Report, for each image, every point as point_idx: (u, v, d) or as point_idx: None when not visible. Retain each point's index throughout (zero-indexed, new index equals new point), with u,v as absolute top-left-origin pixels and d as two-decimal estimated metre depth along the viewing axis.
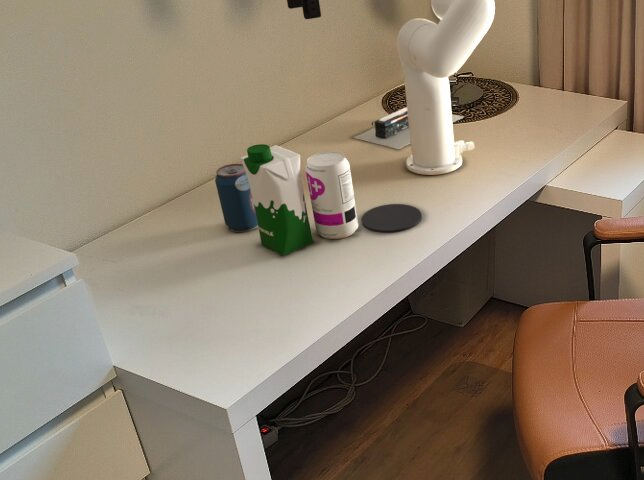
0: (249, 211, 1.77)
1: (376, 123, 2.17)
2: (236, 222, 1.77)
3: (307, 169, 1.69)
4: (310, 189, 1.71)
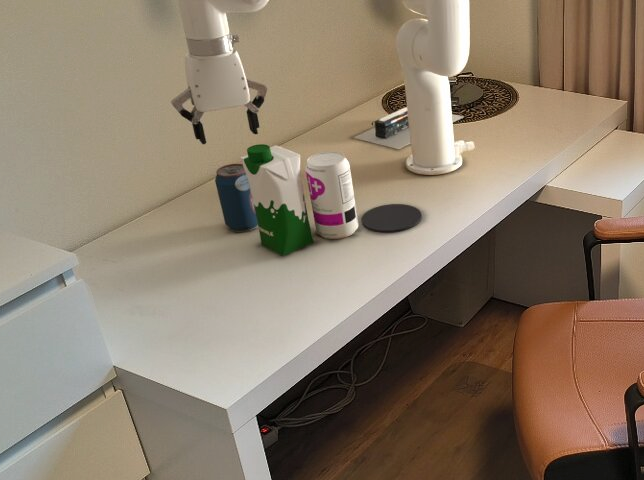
0: (249, 211, 1.77)
1: (376, 123, 2.17)
2: (236, 222, 1.77)
3: (307, 169, 1.69)
4: (310, 189, 1.71)
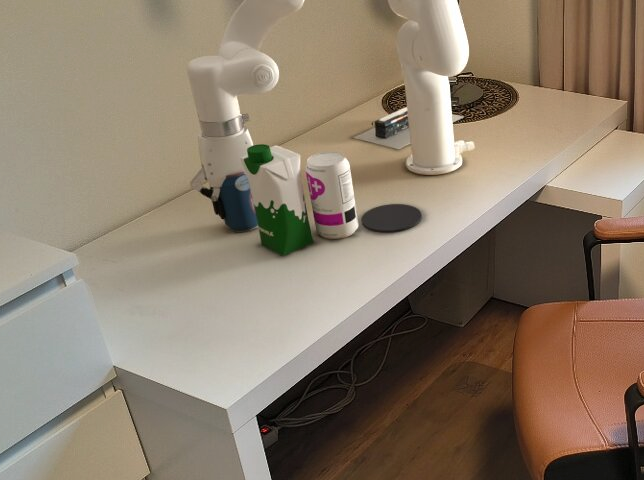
0: (249, 211, 1.77)
1: (376, 123, 2.17)
2: (236, 222, 1.77)
3: (307, 169, 1.69)
4: (310, 189, 1.71)
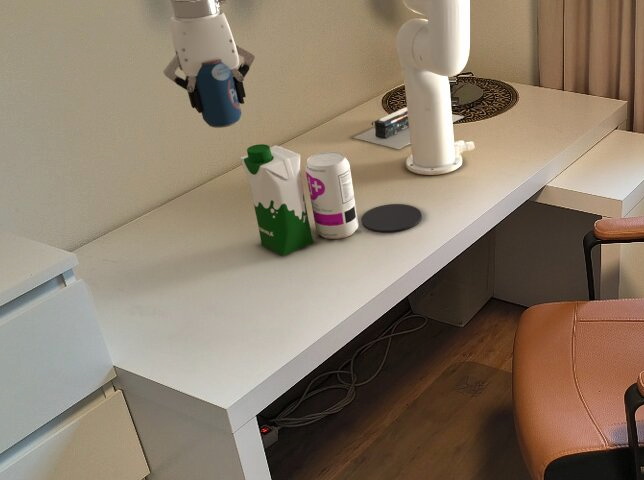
0: (228, 104, 1.65)
1: (376, 123, 2.17)
2: (214, 116, 1.65)
3: (307, 169, 1.69)
4: (310, 189, 1.71)
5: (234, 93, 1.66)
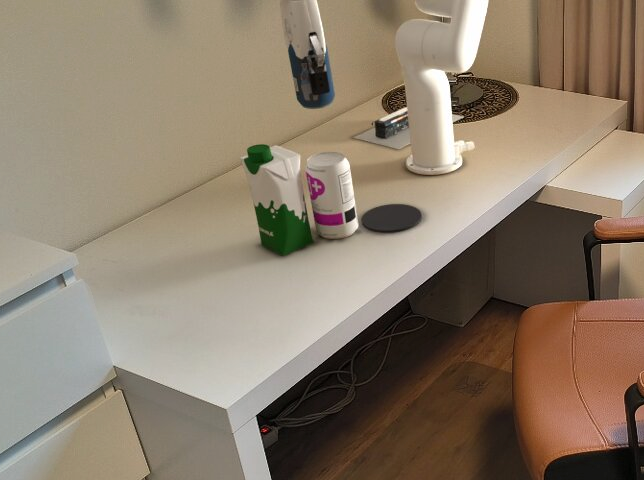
0: None
1: (376, 123, 2.17)
2: (333, 90, 1.67)
3: (307, 169, 1.69)
4: (310, 189, 1.71)
5: None
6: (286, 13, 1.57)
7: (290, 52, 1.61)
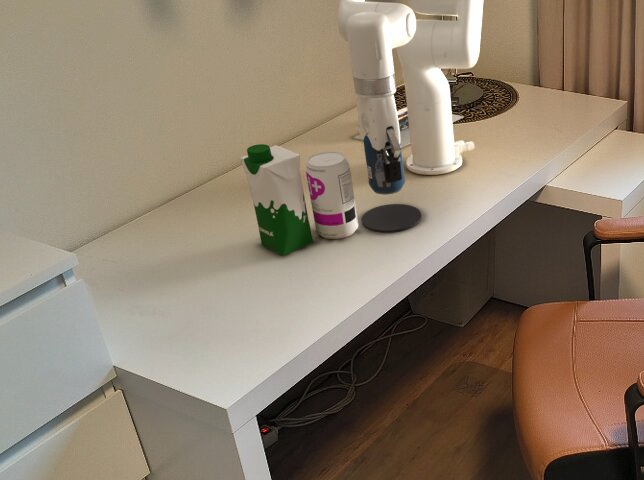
0: None
1: None
2: (403, 176, 1.77)
3: (307, 169, 1.69)
4: (310, 189, 1.71)
5: None
6: (364, 108, 1.67)
7: (366, 143, 1.71)
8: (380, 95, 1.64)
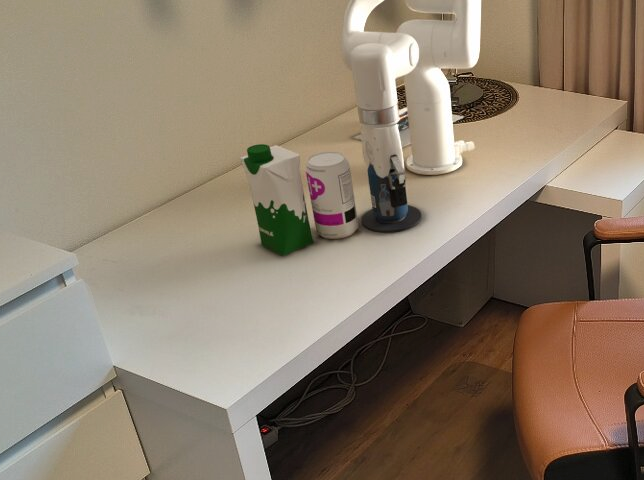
0: None
1: None
2: (407, 205, 1.80)
3: (307, 169, 1.69)
4: (310, 189, 1.71)
5: None
6: (369, 137, 1.70)
7: (370, 174, 1.74)
8: (384, 124, 1.68)
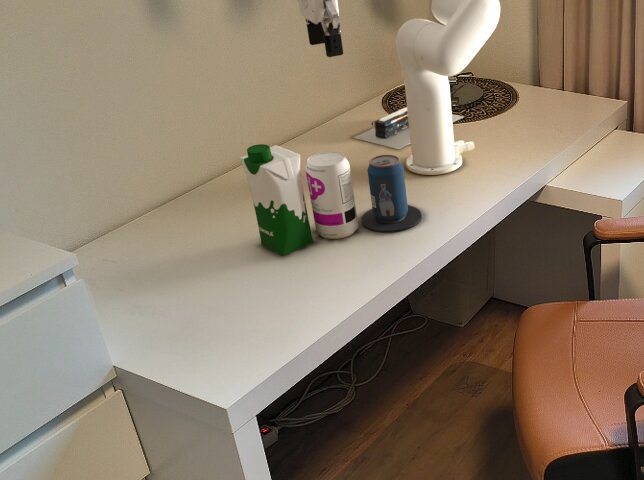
0: None
1: (376, 123, 2.17)
2: (407, 205, 1.80)
3: (307, 169, 1.69)
4: (310, 189, 1.71)
5: None
6: None
7: (370, 174, 1.74)
8: None
